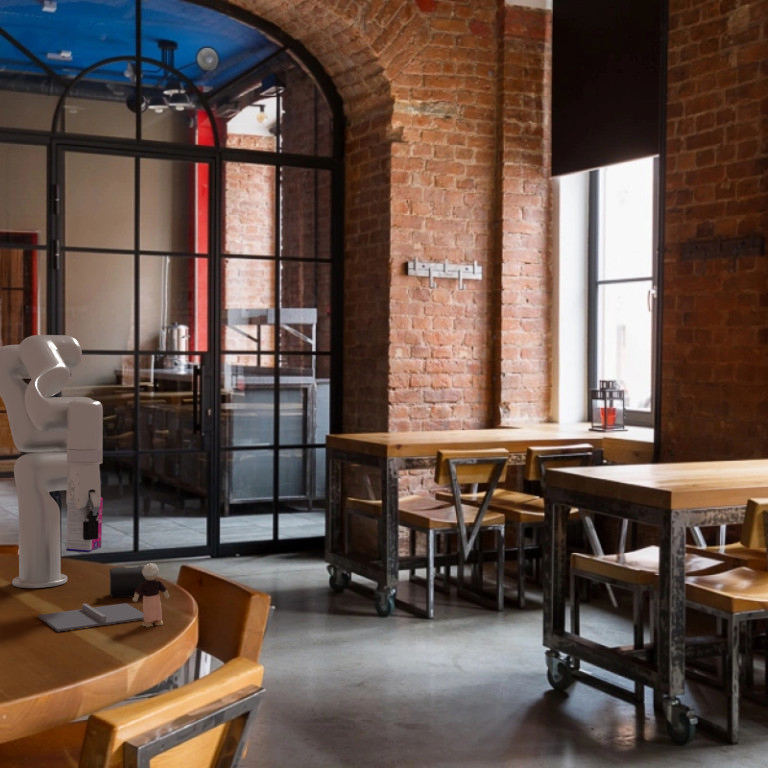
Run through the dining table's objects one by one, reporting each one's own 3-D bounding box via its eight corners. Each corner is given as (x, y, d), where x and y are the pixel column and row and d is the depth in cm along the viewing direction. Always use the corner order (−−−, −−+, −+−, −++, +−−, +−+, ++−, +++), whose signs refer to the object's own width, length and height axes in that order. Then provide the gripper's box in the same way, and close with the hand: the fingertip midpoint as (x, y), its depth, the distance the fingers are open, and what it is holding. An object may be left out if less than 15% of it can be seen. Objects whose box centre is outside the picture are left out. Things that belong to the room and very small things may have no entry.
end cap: (110, 601, 238) (110, 571, 238) (109, 594, 245) (108, 565, 244) (156, 598, 241) (155, 568, 241) (153, 591, 248) (153, 562, 247)
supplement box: (90, 553, 230) (90, 500, 229) (65, 551, 231) (65, 499, 230) (102, 547, 235) (103, 496, 235) (78, 546, 236) (78, 495, 236)
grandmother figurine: (161, 620, 221) (161, 559, 221) (171, 623, 218) (171, 562, 218) (128, 626, 216) (128, 564, 215) (139, 630, 213) (138, 567, 212)
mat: (38, 617, 223) (38, 609, 223) (126, 605, 233) (126, 597, 233) (58, 632, 211) (58, 623, 211) (149, 619, 221) (149, 610, 221)
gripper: (55, 453, 237) (55, 530, 238) (80, 462, 223) (79, 544, 224) (89, 451, 241) (88, 527, 242) (114, 460, 227) (114, 541, 228)
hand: (84, 535), depth 233 cm, fingers closed on supplement box, 8 cm apart
